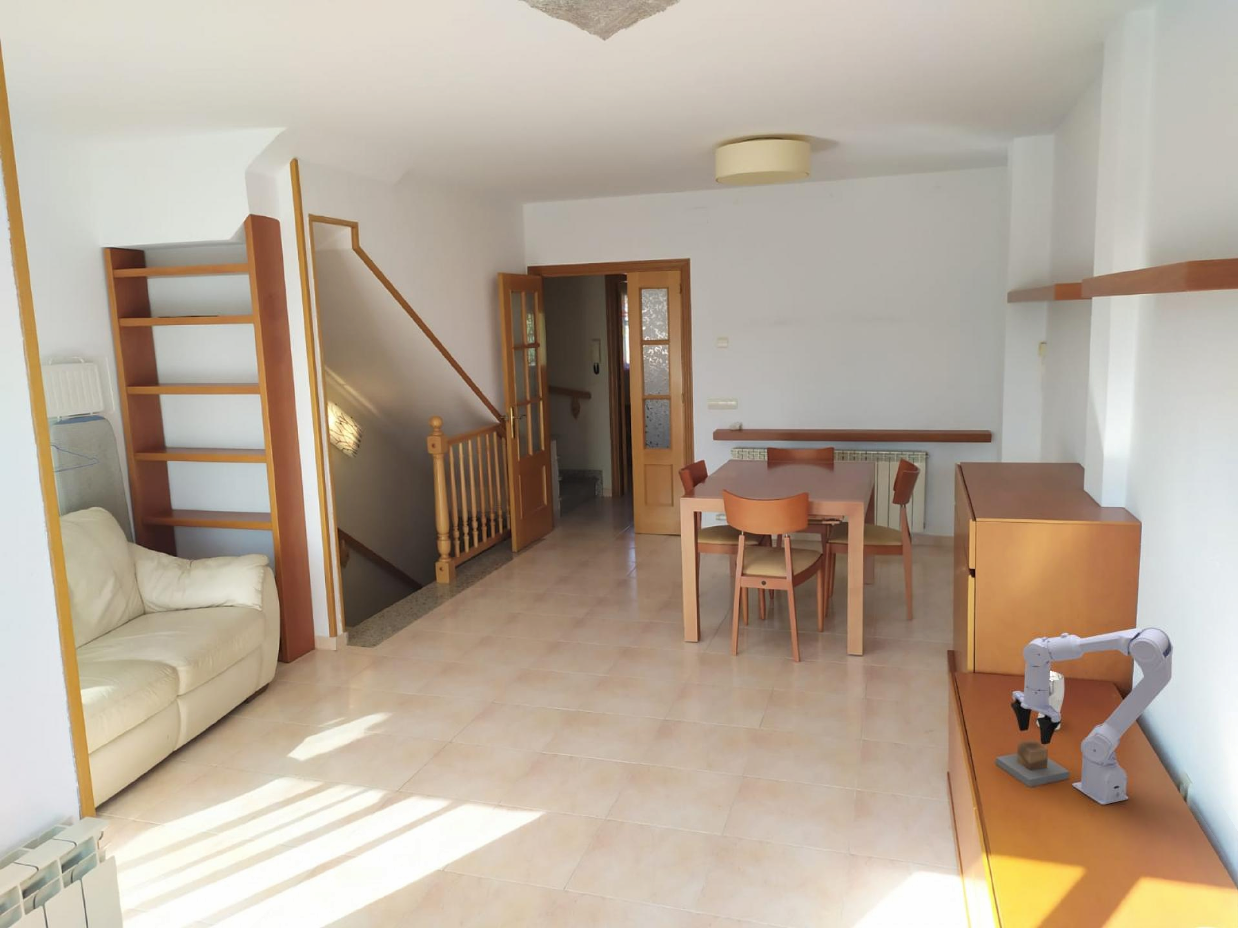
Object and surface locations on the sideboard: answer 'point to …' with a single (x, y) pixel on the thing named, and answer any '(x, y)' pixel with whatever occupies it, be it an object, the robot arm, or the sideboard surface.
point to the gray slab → (1032, 771)
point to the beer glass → (1055, 693)
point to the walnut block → (1032, 755)
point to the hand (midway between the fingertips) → (1034, 736)
